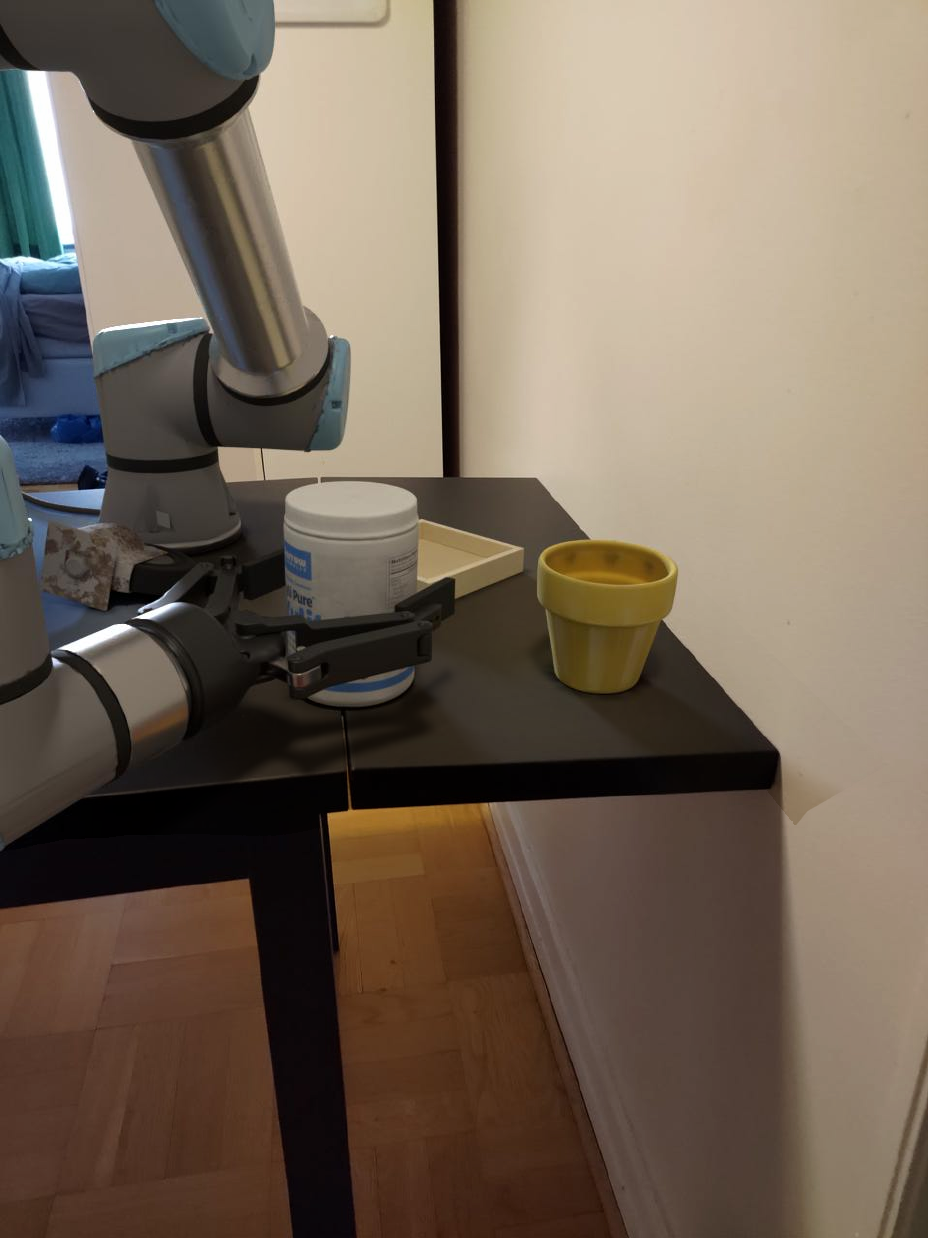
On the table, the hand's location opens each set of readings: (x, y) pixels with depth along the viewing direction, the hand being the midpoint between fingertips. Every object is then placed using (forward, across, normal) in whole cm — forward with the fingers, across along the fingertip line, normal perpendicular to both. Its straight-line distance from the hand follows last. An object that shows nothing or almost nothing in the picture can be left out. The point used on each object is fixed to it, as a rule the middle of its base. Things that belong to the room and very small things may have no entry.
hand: (374, 575), depth 64 cm
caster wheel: (0, -29, -8) cm, 30 cm away
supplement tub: (-3, 0, -8) cm, 9 cm away
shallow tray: (+21, -9, -8) cm, 24 cm away
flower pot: (+9, +15, -8) cm, 19 cm away
